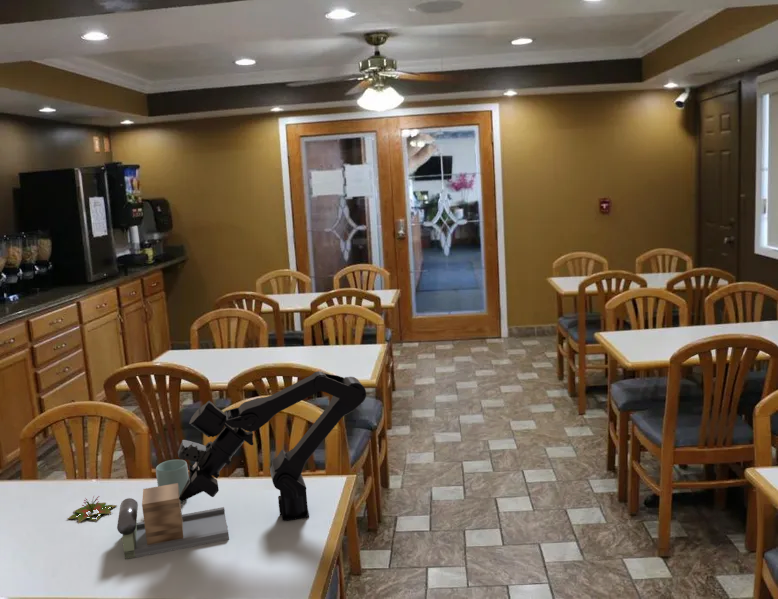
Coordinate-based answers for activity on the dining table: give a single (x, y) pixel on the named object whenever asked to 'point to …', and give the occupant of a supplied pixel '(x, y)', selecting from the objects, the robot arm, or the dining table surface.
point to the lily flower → (91, 510)
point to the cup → (172, 473)
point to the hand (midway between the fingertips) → (180, 499)
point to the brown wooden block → (162, 514)
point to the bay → (195, 532)
